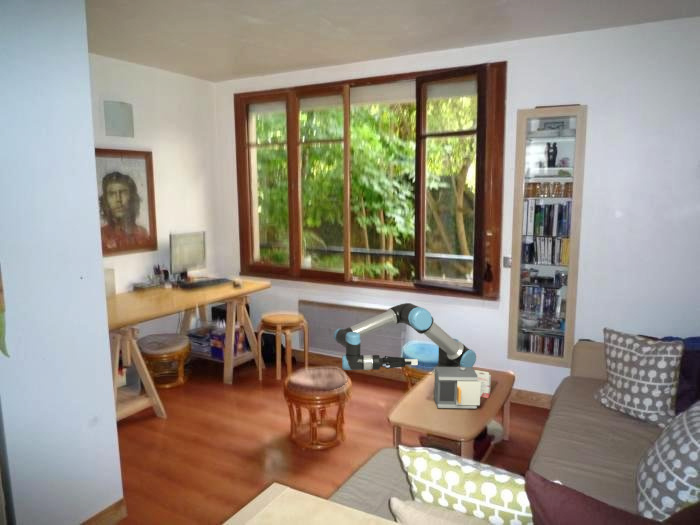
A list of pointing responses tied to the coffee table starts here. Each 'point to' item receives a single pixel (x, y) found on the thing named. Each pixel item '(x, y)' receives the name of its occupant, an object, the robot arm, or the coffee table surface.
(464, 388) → the white boxy piece
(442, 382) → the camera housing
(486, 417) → the coffee table surface
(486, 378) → the ink cartridge box
